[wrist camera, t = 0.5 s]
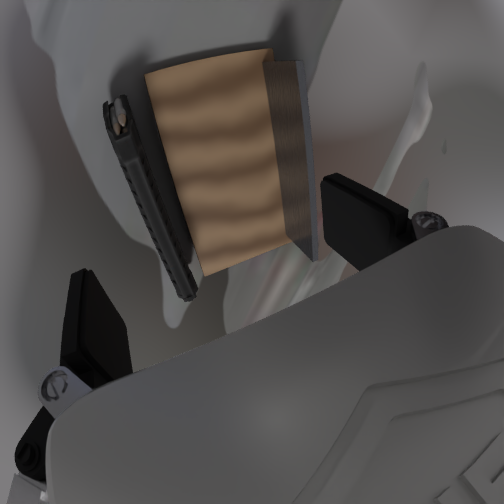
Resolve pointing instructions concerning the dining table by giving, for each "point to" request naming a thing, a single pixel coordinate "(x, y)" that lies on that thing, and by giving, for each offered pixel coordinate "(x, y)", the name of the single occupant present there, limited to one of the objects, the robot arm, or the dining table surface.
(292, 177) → the shelf wall
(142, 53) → the dining table surface
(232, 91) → the shelf board
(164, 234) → the magazine
